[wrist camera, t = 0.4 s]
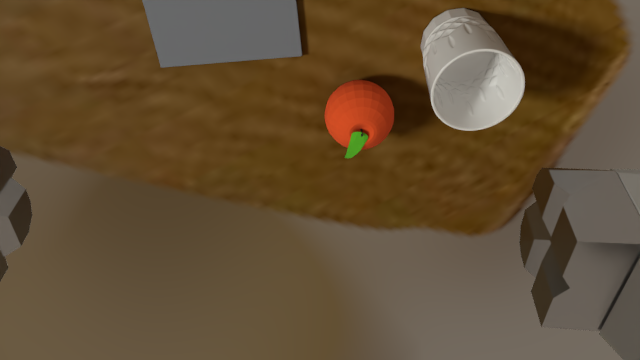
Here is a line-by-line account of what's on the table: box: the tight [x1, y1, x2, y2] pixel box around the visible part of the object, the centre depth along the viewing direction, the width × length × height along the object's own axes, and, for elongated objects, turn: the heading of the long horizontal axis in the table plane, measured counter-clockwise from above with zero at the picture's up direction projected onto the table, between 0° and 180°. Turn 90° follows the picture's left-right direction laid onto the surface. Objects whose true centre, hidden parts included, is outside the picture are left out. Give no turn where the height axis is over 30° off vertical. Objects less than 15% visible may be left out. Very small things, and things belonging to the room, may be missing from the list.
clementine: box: [325, 80, 394, 158], centre depth 59 cm, size 8×7×7 cm
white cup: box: [421, 8, 525, 131], centre depth 54 cm, size 8×8×10 cm
